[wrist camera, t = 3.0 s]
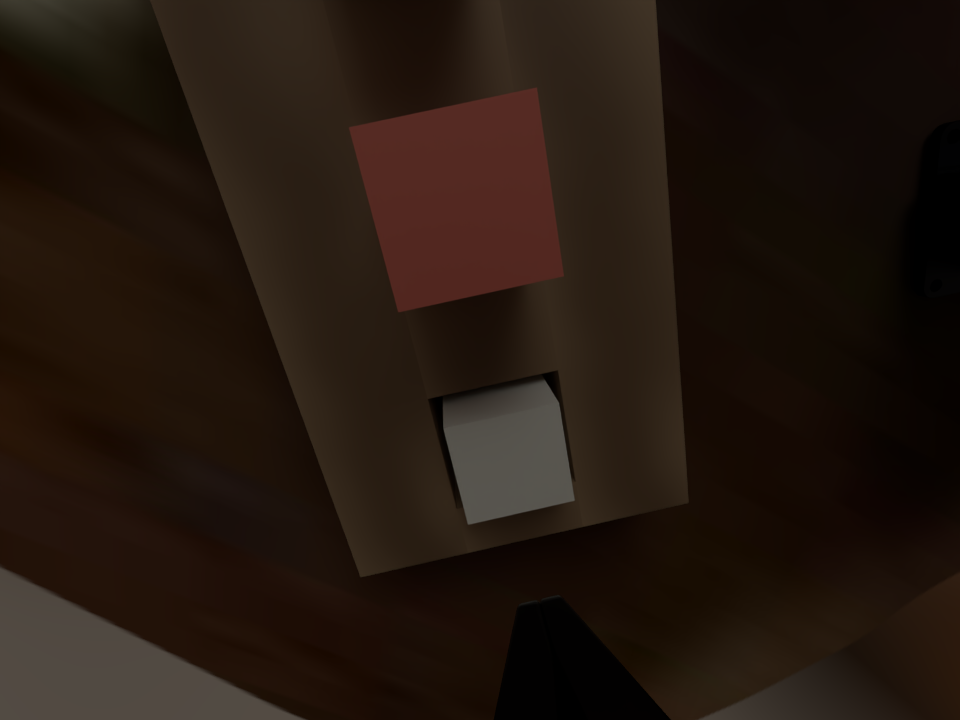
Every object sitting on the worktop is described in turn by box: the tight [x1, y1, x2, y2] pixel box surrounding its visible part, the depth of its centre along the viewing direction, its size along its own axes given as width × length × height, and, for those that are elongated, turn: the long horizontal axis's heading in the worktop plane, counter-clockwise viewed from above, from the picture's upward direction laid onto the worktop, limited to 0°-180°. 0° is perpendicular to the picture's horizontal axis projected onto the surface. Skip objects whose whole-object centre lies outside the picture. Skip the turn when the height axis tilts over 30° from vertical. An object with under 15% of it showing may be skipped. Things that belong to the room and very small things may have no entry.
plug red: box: [349, 88, 564, 312], centre depth 11 cm, size 3×3×5 cm
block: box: [150, 0, 689, 577], centre depth 15 cm, size 12×23×4 cm, turn 12°
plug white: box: [443, 374, 575, 525], centre depth 16 cm, size 3×3×5 cm
